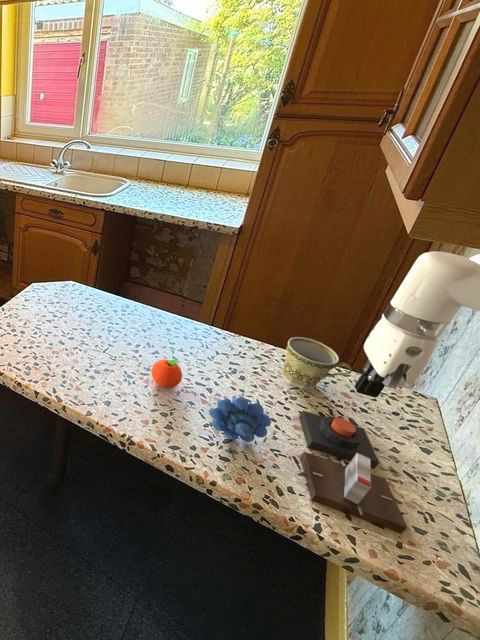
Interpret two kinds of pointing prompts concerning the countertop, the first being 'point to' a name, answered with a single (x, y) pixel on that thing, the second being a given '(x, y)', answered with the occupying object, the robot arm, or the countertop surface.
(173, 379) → the clementine
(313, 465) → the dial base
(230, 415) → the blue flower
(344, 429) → the button
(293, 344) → the ceramic cup
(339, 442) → the button box
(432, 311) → the robot arm
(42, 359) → the countertop surface
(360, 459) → the grey block
